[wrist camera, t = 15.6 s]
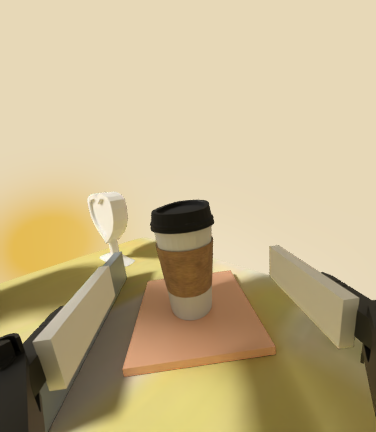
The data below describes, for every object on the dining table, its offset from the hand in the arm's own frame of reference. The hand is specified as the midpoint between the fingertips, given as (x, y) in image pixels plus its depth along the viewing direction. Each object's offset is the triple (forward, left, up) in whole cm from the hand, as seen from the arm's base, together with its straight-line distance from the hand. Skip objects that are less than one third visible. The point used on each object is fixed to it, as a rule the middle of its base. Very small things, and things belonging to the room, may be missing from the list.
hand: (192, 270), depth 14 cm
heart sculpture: (-35, +16, -12) cm, 40 cm away
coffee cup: (-6, +8, -11) cm, 15 cm away
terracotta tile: (-6, +8, -12) cm, 15 cm away
